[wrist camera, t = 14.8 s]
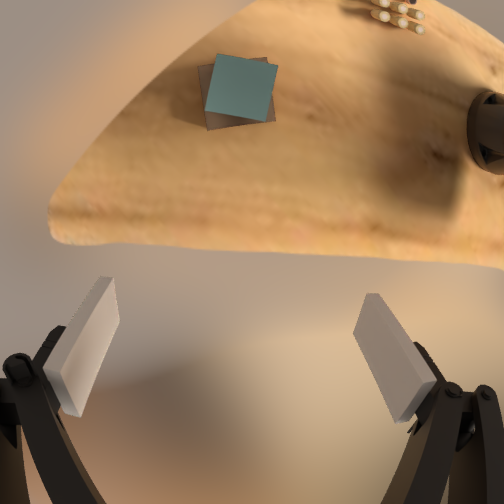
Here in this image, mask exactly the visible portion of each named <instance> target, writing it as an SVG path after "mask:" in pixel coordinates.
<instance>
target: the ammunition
mask: <svg viewBox="0 0 504 504" xmlns="http://www.w3.org/2000/svg"><path fill="white" fill-rule="evenodd" d="M371 1H372V3H373V4H374V5H378V6H382V7H388V6H389V8H390V9H391V10H392V11H395V12H399V13H402V14H407V16H409V17H411V18H414V19H417V20H420V21H422V20H424V18H425V14H424V13H423V12H422V11H420V10H416V9H412V8H408V7H407V6H406V5H405V4H402V3H398V2H390V1H389V0H371ZM404 1H405V2H406V3H408V4H412V5H415V4H416V3H417V0H404ZM370 13H371V16H372V17H373V18H375V19H378V20H381V21H383V22H387V21H389V22H390V23H391V24H394V25H396V26H398V27H401V28H407V29H408V30H410V31H412V32H415V33H417V34H419V35H423V34H424V33H425V28H424V26H423V25H420V24H418V23H415V22H412V21H407V20H406V19H405V18H402V17H399V16H396V15H389V13H388V12H386V11H382V10H378V9H373V10H372V11H371V12H370Z"/></svg>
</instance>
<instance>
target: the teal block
mask: <svg viewBox="0 0 504 504" xmlns="http://www.w3.org/2000/svg"><path fill="white" fill-rule="evenodd" d="M277 69H278V65H274V64H269V63H265V62H260V61H255V60H250V59H245V58H240V57H234V56H228V55H222V54H217V56H216V61H215V65H214V69H213V74H212V78H211V83H210V87H209V92H208V97H207V102H206V107H205V111H210V112H216V113H222V114H228V115H234V116H239V117H244V118H250V119H255V120H260V121H264V122H266V117H267V113H268V108H269V104H270V99H271V95H272V91H273V86H274V82H275V77H276V73H277Z"/></svg>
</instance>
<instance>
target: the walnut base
mask: <svg viewBox="0 0 504 504" xmlns="http://www.w3.org/2000/svg"><path fill="white" fill-rule="evenodd" d="M250 60H255V61H260V62H265V63H268V61H267V57H263V58H253V59H250ZM214 65H215V64H209V65H203V66H198V72H199V79H200V86H201V93H202V99H203V106H204V112H205V119H206V125H207V131H208V130H214V129H220V128H226V127H233V126H240V125H247V124H255V123H263V122H264V121H260V120H255V119H250V118H244V117H239V116H234V115H228V114H222V113H216V112H210V111H205V107H206V102H207V97H208V92H209V87H210V83H211V78H212V74H213V69H214ZM272 121H276V119H275V111H274V104H273V96H272V95H271V99H270V104H269V108H268V113H267V117H266V122H272Z"/></svg>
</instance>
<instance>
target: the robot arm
mask: <svg viewBox="0 0 504 504" xmlns="http://www.w3.org/2000/svg"><path fill="white" fill-rule="evenodd" d="M467 135H468V142H469V146H470V150H471V152H472V155H473V157H474V159H475V161H476V162H477V163H478V165H479V166H480V167H481V168H482V169H484V170H485V171H488V172H490V173H493V174H497V175H504V94H501V93H498V92H484V93H482V94H480V95H479V96H477V97H476V99H475V100H474V101H473V103H472V105H471V108H470V111H469V115H468V121H467ZM119 322H120V319H119V313H118V307H117V300H116V293H115V285H114V278H112V277H102V276H100V277H99V279H98V280H97V282H96V283H95V285H94V286H93V288H92V289H91V290H90V292H89V293H88V295H87V296H86V298H85V299H84V301H83V302H82V304H81V305H80V307H79V308H78V310H77V312H76V313H75V315H74V316H73V318H72V319H71V321H70V322H69V324H68V326H67V327H65V326H57V327H56V328H55V329H53V330H52V331H51V332H50V333H49V335H48V336H47V338H46V341H44V342H43V344H42V347H40V349H39V350H38V352H37V354H36V355H35V357H34V359H33V360H31V358H30V357H29V356H28V355H26V354H23V353H17V354H13V355H11V356H9V357H8V358H7V359H6V360H5V362H4V364H3V371H4V373H5V375H6V377H7V378H0V504H30V500H29V494H28V489H27V483H26V476H25V470H24V461H23V451H22V441H21V440H22V439H21V425H22V429H23V432H24V435H25V438H26V441H27V444H28V446H29V449H30V452H31V455H32V458H33V460H34V463H35V465H36V468H37V470H38V473H39V475H40V477H41V479H42V482H43V484H44V486H45V489H46V491H47V493H48V495H49V497H50V499H51V501H52V503H53V504H106V503H105V501H104V499H103V498H102V496H101V495H100V493H99V491H98V490H97V488H96V487H95V485H94V483H93V482H92V480H91V478H90V476H89V475H88V473H87V471H86V469H85V468H84V466H83V464H82V462H81V460H80V458H79V456H78V454H77V453H76V450H75V448H74V446H73V444H72V442H71V440H70V438H69V436H68V434H67V432H66V429H65V427H64V425H63V423H62V421H61V418H60V416H59V414H58V410H59V408H60V405H61V407H62V409H63V411H64V413H66V414H69V415H73V416H77V417H81V415H82V413H83V410H84V407H85V404H86V402H87V399H88V396H89V394H90V391H91V389H92V386H93V383H94V381H95V378H96V376H97V373H98V371H99V368H100V366H101V363H102V361H103V359H104V356H105V354H106V351H107V349H108V347H109V344H110V342H111V340H112V338H113V335H114V333H115V331H116V329H117V326H118V324H119ZM353 335H354V336H355V339H356V340H357V342H358V345H359V347H360V349H361V351H362V353H363V355H364V357H365V359H366V361H367V363H368V365H369V367H370V370H371V372H372V374H373V376H374V378H375V380H376V382H377V384H378V387H379V389H380V391H381V393H382V395H383V398H384V400H385V402H386V404H387V406H388V408H389V411H390V413H391V415H392V418H393V420H394V422H395V424H397V423H402V422H407V421H409V420H410V419H411V418H412V416H413V415H414V413H415V414H416V416H417V418H418V419H417V420H416V421H415V423H414V424H413V426H412V427H411V428H410V429H409V431H408V432H407V433H410V432H411V430H412V432H411V435H410V437H409V440H408V443H407V445H406V448H405V451H404V453H403V456H402V458H401V461H400V463H399V466H398V468H397V470H396V472H395V475H394V477H393V479H392V481H391V483H390V486H389V488H388V490H387V492H386V494H385V496H384V498H383V500H382V502H381V504H440V502H441V499H442V496H443V493H444V490H445V486H446V483H447V479H448V476H449V495H448V504H504V428H503V422H502V417H501V412H500V407H499V403H498V399H497V395H496V393H495V391H494V390H493V389H492V388H491V387H489V386H487V385H480V386H478V387H477V389H476V390H475V391H474V392H463V390H462V388H460V386H459V385H457V384H455V383H453V382H447V381H446V380H445V378H444V377H443V375H442V374H441V372H440V371H439V369H438V368H437V366H436V365H435V363H434V362H433V360H432V359H431V357H429V354H428V353H427V351H426V350H425V348H424V347H422V346H421V345H420V344H419V343H418V342H412V340H411V339H410V338H409V336H408V335H407V333H406V332H405V330H404V329H403V327H402V326H401V324H400V323H399V322H398V320H397V319H396V317H395V316H394V314H393V313H392V311H391V310H390V309H389V307H388V306H387V304H386V303H385V302H384V300H383V299H382V297H381V296H380V295H379V294H376V293H374V294H373V293H367V294H366V297H365V300H364V303H363V306H362V309H361V312H360V315H359V318H358V321H357V324H356V326H355V329H354V332H353ZM474 428H475V432H474Z"/></svg>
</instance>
